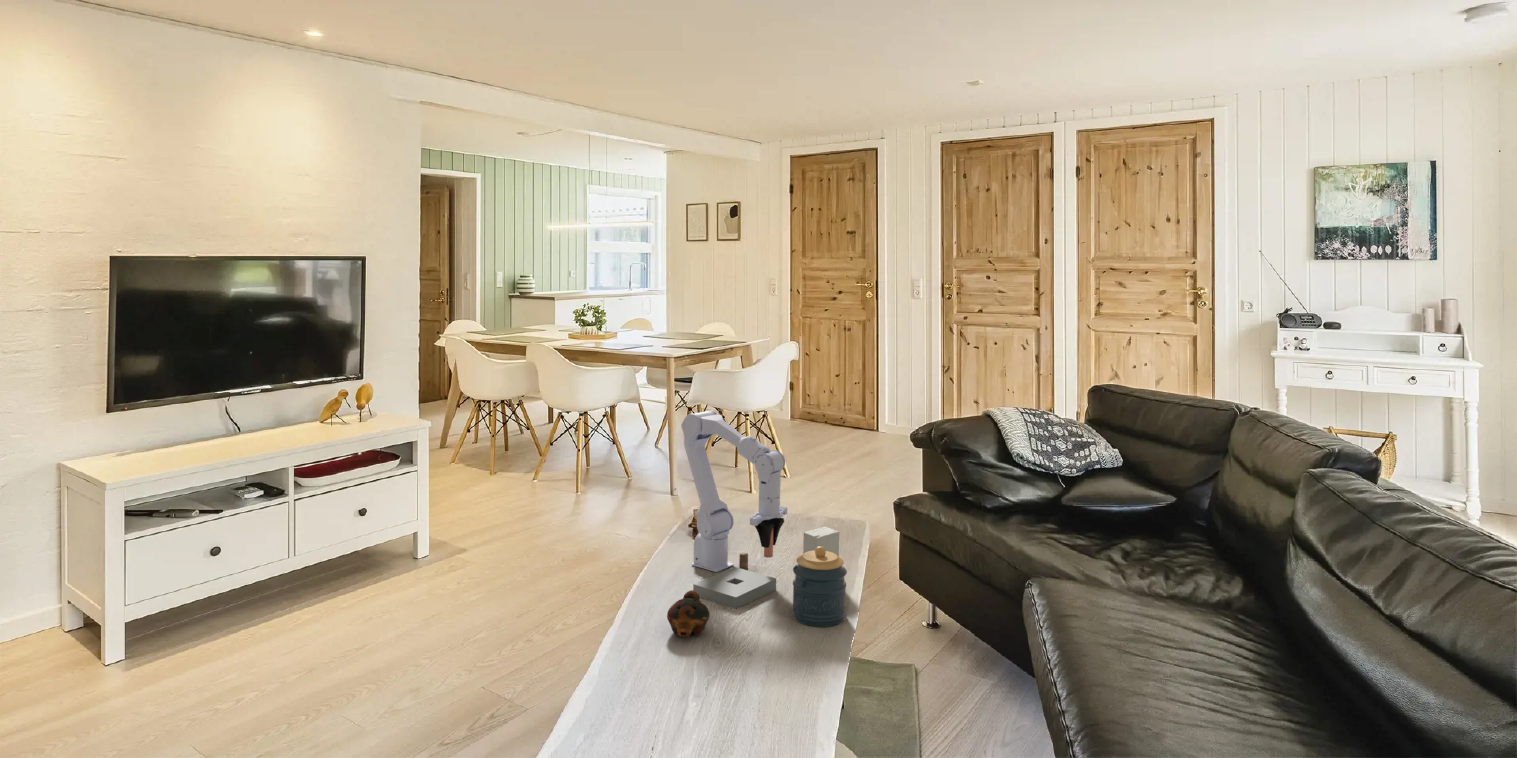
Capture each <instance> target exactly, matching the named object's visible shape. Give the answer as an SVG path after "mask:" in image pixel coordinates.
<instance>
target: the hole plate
mask: <svg viewBox="0 0 1517 758" xmlns="http://www.w3.org/2000/svg"><path fill="white" fill-rule="evenodd" d="M692 589H693V590H694V591H696V592H697V593H698V594H699V599H703V600H706V601H709V602H713V603H715V604H719V605H721V606H725V607H728V608H731V609H735V610H737V609H738V608H740V607H742V606H746V605H747V604H750V603H752V602H753V601H755V600H757V599H759V598H761V597H764V596H765V595H768V594H770V593H773V592H774V591H776V590H777V578H776V577H773V576H769V575H765V574H761V573H757V572H755V571H751V570H749V569H748V570H744V569H741V568H739V567H737V566H732V568H731V567H730V568H729V569H727V570H723V571H721V572H718V573H717V574H715V575H714V574H713V575H712V576H710V577H708V578H705V579H702V580H700V581H698V582H696V583H693V588H692Z"/></svg>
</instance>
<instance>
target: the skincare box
mask: <svg viewBox="0 0 1517 758" xmlns="http://www.w3.org/2000/svg"><path fill="white" fill-rule="evenodd" d="M818 546H822V547H824V548H825V550H826V551H829V552H832V553H835V554H836V555H837V556H839V557H840V552H839V551H840V550H839V549H840V531H838V530H835V529H833V528H831V527H828V526H821V527H819V528H816V529H811V530H808V531H807V530H806V531H803V547H802V548H803V549H802V550H803V551H802V555H803V554H804V553H805V552H808V551H815V549H816V548H817V547H818Z"/></svg>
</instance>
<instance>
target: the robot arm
mask: <svg viewBox="0 0 1517 758" xmlns="http://www.w3.org/2000/svg"><path fill="white" fill-rule="evenodd" d="M681 429H682V434H683V445H684V449H685V453H686V457H687V461H688V464H689V468H690V471H691V474H692V477H693V481H694V485H695V489H696V492H697V496H698V499H699V503H700V505H699V507H698V509H697V510H696V513H695V516H696V528H697V531H698V534H696V536H695V538H694V541H693V562H692V563H691V565H692V566H693V567H697V568H701V569H704V570H707V571H712V572H713V573H720V571H721V572H722V571H724V570H725V569H728V568H731V567H734V566H735V562H731V561H729V559H728V557H729V556H728V555H729V553H728V551H729V550H728V549H729V535H730V530H732V529H733V527H734V523H735V521H734V520H735V519H734V516H733V514H732V513H731V511H730V509H729V508H728V505H727V503H725V502H724V501H722V499H720V497H719V492H718V490H717V486H716V482H715V479H714V475H713V472H712V467H711V464H710V462H709V461H710V460H709V458H708V455H707V454H708V453H707V450H706V445H707V442H708V441H709V439H710V438H711V437H713V435H717V437H720V438H722V439H723V440H724V441H726V442H728V443H730V444H731V445H733V446H735V448H736V449H737V450H736V451H737V454H739V455H740V456H742V457H743V458H745V460H747V461H748V462H749V463H751V464H753V465H754V468H755V470H756V472H757V478H758V511H757V512H755V514H753V516H751V517H749V526H754V528H755V529H756V531H757V534H758V537H759V541H760V546H761V547H762V548H764V547H765V548H769V546H770V537H771V532H772V529H773V546H776V543H777V540H778V536H779V533H780V531H781V528H782V527H783V525H784V524H785V518H784V517H783V516H784V515H785V516H786V515H788V507H787V506H784V505H783V506H781V478H782V477H781V475H782V472H781V471H782V470H784V468H785V466H786V459H785V456H784V455H783V453H782V452H781V451H780V450H778V449H774V450H772V449H770V447H768V446H766V445H764V444H762V443H761V442H760V441H759V440H757V439H758V438H757V437H755V436H750V435H748V436H744V435H743V434H742V433H740V432H739V431H737V429H735V428H734V427H733V426H731V424H729V423H728V422H727V421H726V420H724V418H723V415H721V414H720V413H718V412H716V411H715V410H712V409H709V410H706V411H702V412H695V413H688V414H687V415H685V417H684V419H683V421H682V422H681Z"/></svg>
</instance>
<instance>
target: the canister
mask: <svg viewBox="0 0 1517 758" xmlns="http://www.w3.org/2000/svg"><path fill="white" fill-rule="evenodd" d="M796 563H797V564H795V565H794V566H793V568H792V572H793V574H794V579H793V580H792V586H793V587H792V588H793V591H792V594H793V595H792V605H791V610H792V612H791V613H792V617H793V618H794V620H796V622H798V623H800V624H802V625H806V626H810V627H822V628H823V627H832V626H836V625H839V624H840V623H842V622H844V620H845V618H846V617H845V615H846V611H847V608H846V592H847V591H846V589H847V582H846V581H845V576H846V575H847V573H848V570H847V569H846V566H845V567H844V559H843V558H842V557H840V555H839V556H837V555H836V554H835V553H832V552H829V551H826V550H825V548H824V547H822V546H818V547H817V548H816V549H815V551H808V552H805V553H804V554H803V553H802V554H801V555H798V557H797V558H796Z"/></svg>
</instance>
